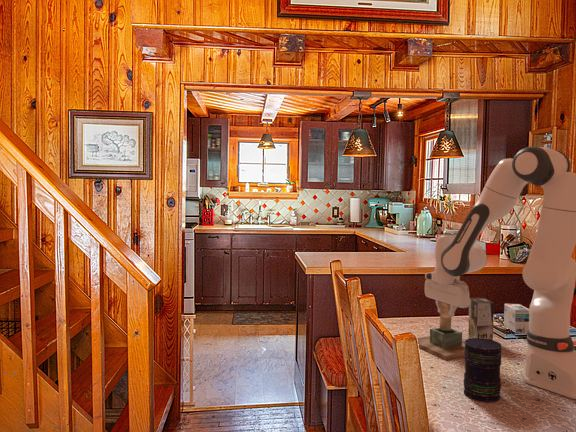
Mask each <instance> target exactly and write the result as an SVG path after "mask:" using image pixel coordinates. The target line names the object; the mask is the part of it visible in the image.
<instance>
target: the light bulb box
mask: <svg viewBox="0 0 576 432" xmlns="http://www.w3.org/2000/svg"><path fill="white" fill-rule="evenodd" d="M529 311H530V308H527V307H526V306H523V305H522V304H520V303H504V311H503V312H504V313H503V315H504V316H503V318H504V319H503V322H504V323H503V327H504V326H506V327H507V328H509V329H510V330H512V331H513V332H515V333H519V334H525V335H527V331H528V330H529Z"/></svg>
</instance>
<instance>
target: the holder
mask: <svg viewBox="0 0 576 432" xmlns="http://www.w3.org/2000/svg"><path fill="white" fill-rule="evenodd" d="M416 338H417V339H418V344H419V349H421V350H422V349H423V350H422V351H425V352H427V353H429V354H431V355H433V354H434V355H433V356H435V355H436V357H437V356H438V358H440V359H442V360H444V361H448V360H454V359H459V358H460V359H461V358H464V357H465V355H464V350H465V340H463V332H462V331H459V330H457V329H455V328H452V327H451V330H450V331H443V330H440V327H436V328H435V327H434V328H430V329H429V336H422V337H420V336H419V337H416Z"/></svg>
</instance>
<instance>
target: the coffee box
mask: <svg viewBox="0 0 576 432" xmlns="http://www.w3.org/2000/svg"><path fill="white" fill-rule="evenodd" d="M494 305H495V303H494V302H493V301H491V300H489V299H487V298H486V297H470V305H469V307H468V339H471V338H482V339H489V340H493V339H494V311H495V310H494V307H495V306H494ZM493 341H494V340H493Z"/></svg>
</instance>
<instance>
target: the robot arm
mask: <svg viewBox="0 0 576 432" xmlns="http://www.w3.org/2000/svg"><path fill="white" fill-rule="evenodd" d="M571 169H572V164H571V161H570V158H569V157H568V155H566V154H565V153H563V152H562V151H559V150H556V149H552V148H550V147H544V146H534V145H533V146H527V147H524V148H522V149H520V150H518V152H517V153H516V154H515V155H514V157H513V158H510V157H509V158H504V159H501V160H500V161H499V162H498V163H497V164H496V166H495V167H494V169H493V170H492V172H491V174H490V175H489V177H488V179H487V181H486V182H485V185H484V187H483V189H482V191H481V192H480V195H479V197H478V199H477V201H476V202H475V204H474V205H473V207H472V208H471V209H470V211H469V213H468V215H467V216H466V217H465V219H464V221H463V223H462V224H461V226H460V228H459V230H458V231H457V233H446V234H440V235H438V237H437V238H436V240H435V241H436V242H435V248H434V260H435V265H434V271H431V272H426V273H425V274H424V278H425V281H424V295H425V297H426V298H429V299H433V300H435V304H436V308H437V313H439V314H440V302H444V303H447V304H450V307H451V309H450V311H448V316H450V317H451V318H454V317H455V312H456V310H457V308H460V309H466V308H469V305H470V298H471V297H470V290H469V285H468V284H467V283H466V282H465V281H464V280H460V279H461V276H463V275H465V274H469V273H473V272H474V273H475V272H477V271H480V270H483V268H485V266H486V265H487V262H488V256H487V253H486V250H485V249H484V248H483V247H482V246H480V245H477V244H476V242H477V240H478V238H479V237H480V235H481V233H482V231H484V230H485V229H486V228H487V227H488V226H489V225H490V224H492V223H494V222H495V221H498V220H500V219H502V218H504V217H506V216H508V215H509V213H511V211H513V208H514V207H515V205H516V204H517V202H518V199H519V198H520V195H521V194H522V191H523V190H524V188H525V186H526V185H528V184H532V185H533V186H536V187H541V188H542V190H543V200H542V204H541V209H540V216H539V220H538V227H537V230H536V234H535V237H534V240H533V243H532V245H531V248H530V252H529V254H528V257H527V260H526V263H525V265H524V266H523V269H522V279H523V282H524V283H525V285H527V286H528V287H529V288H530V289H531V290H533V294H532V299H531V302H530V303H529V309H530V311H529V330H528V331H527V336H526V343H527V351H526V357H525V362H524V366H523V368H522V369H523V370H522V372H521V375H522V377H523V382H524V384H525V383H526V384H529V385H531V386H535V387H538V388H541V389H543V390H546V391H548V392H552V393H555V394H558V395H561V396H563V397H567V398H569V399H572V400H576V347H575V346H576V341H573V339H572V336H571V335H570V333H571V331H570V330H571V311H572V303H573V298H574V293H575V287H576V286H575V285H576V260H575V259H574V258H573V252H574V250H575V247H576V173H575V172H571Z"/></svg>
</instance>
